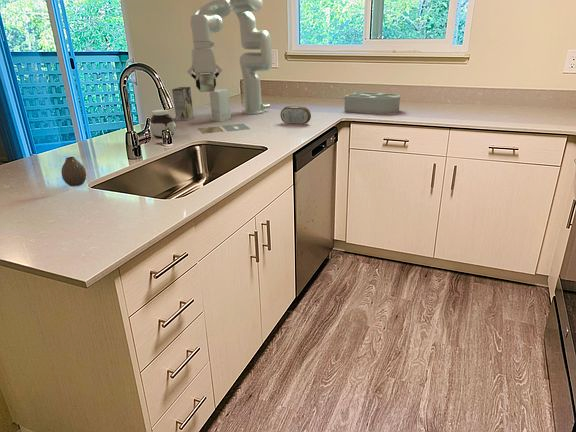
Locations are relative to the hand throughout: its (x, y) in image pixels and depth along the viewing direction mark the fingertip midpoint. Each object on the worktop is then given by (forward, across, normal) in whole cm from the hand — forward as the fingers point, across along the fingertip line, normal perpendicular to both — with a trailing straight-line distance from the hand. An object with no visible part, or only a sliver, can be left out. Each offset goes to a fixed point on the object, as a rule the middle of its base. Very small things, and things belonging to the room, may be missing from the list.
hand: (206, 88), depth 197 cm
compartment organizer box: (+20, -91, -8) cm, 94 cm away
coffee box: (+20, +7, -36) cm, 42 cm away
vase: (+20, +54, +57) cm, 81 cm away
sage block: (+1, 0, 0) cm, 1 cm away
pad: (+19, 0, 0) cm, 19 cm away
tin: (+20, -41, +4) cm, 46 cm away
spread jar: (+20, +21, 0) cm, 29 cm away
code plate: (+19, -12, 0) cm, 23 cm away
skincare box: (+20, -10, -22) cm, 31 cm away
